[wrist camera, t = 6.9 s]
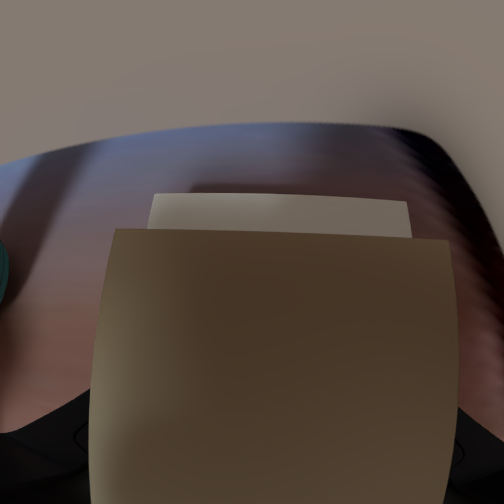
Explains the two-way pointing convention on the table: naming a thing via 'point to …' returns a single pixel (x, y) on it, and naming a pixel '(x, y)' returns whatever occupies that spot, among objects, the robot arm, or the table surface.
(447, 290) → the plug
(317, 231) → the block
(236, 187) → the table surface
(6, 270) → the beverage bottle
